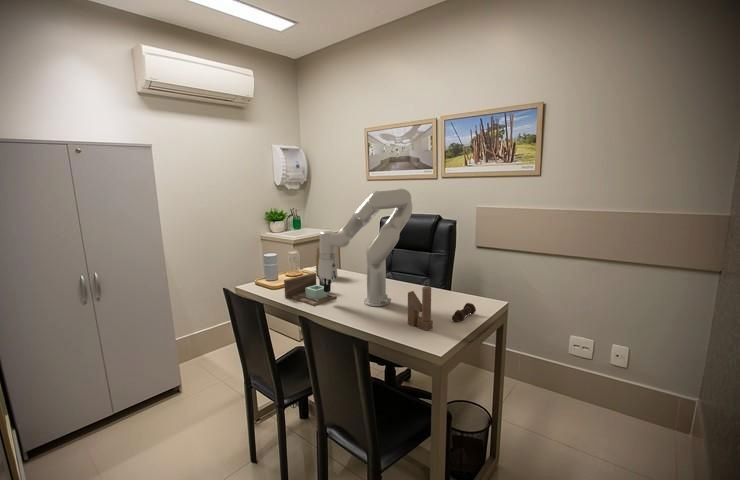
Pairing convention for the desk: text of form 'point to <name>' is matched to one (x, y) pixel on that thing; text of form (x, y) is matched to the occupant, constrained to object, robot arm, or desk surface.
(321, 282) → the peg
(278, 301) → the desk surface
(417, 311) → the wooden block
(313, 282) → the backstop board
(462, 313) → the dumbbell
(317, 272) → the brown tall rounded block
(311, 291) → the teal square socket
